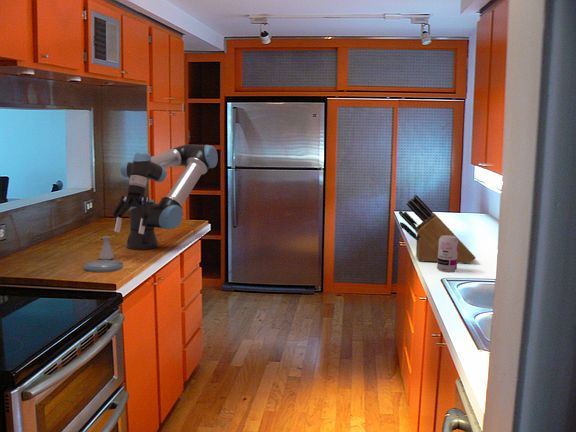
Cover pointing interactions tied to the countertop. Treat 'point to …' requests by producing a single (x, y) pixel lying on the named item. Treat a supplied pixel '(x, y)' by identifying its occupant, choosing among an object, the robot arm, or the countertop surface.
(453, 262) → the supplement can
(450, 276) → the countertop surface
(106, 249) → the flask
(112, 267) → the dish
